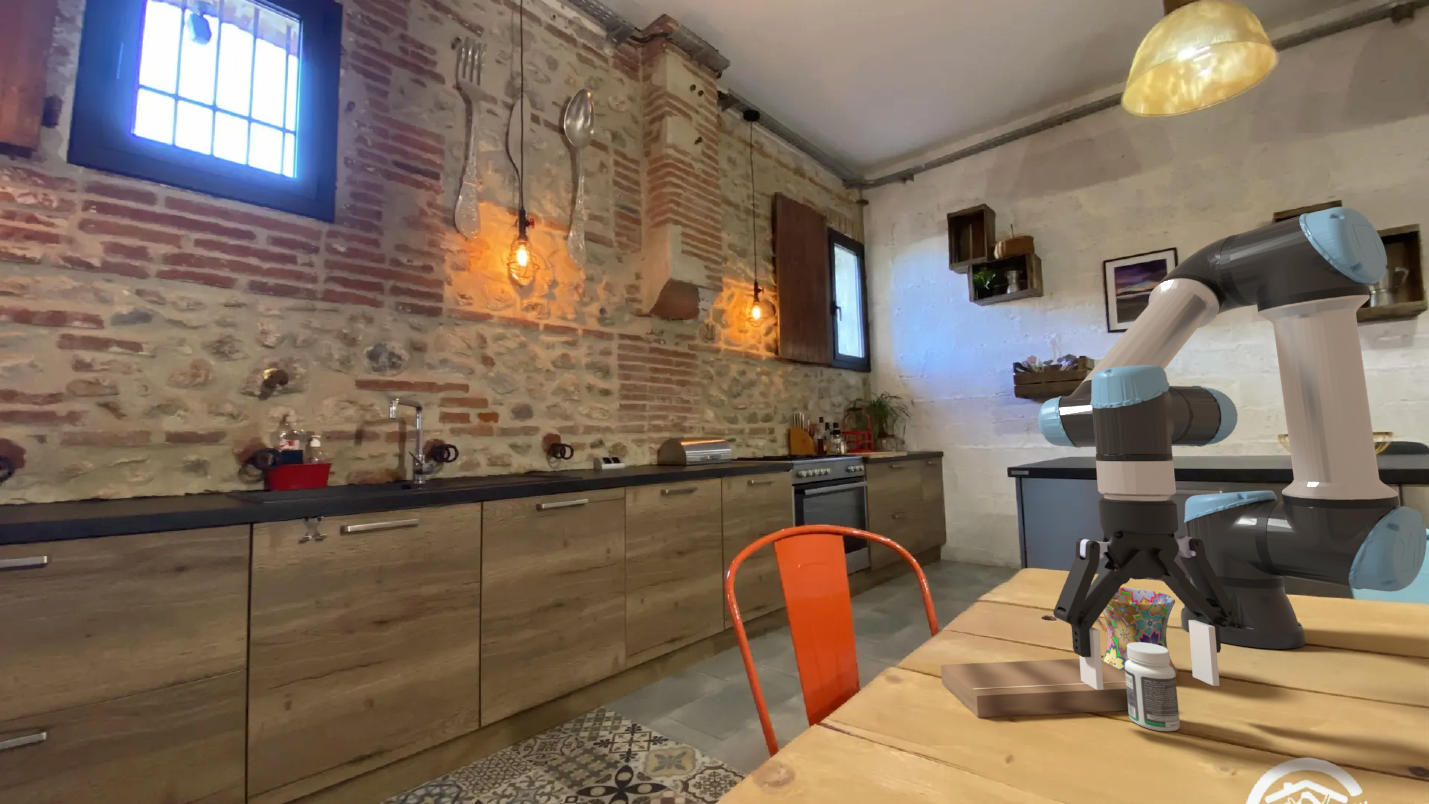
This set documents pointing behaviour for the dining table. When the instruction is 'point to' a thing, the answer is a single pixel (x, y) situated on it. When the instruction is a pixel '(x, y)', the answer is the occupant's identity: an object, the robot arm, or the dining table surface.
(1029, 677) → the board
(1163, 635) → the mug
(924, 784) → the dining table surface
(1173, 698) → the pill bottle
